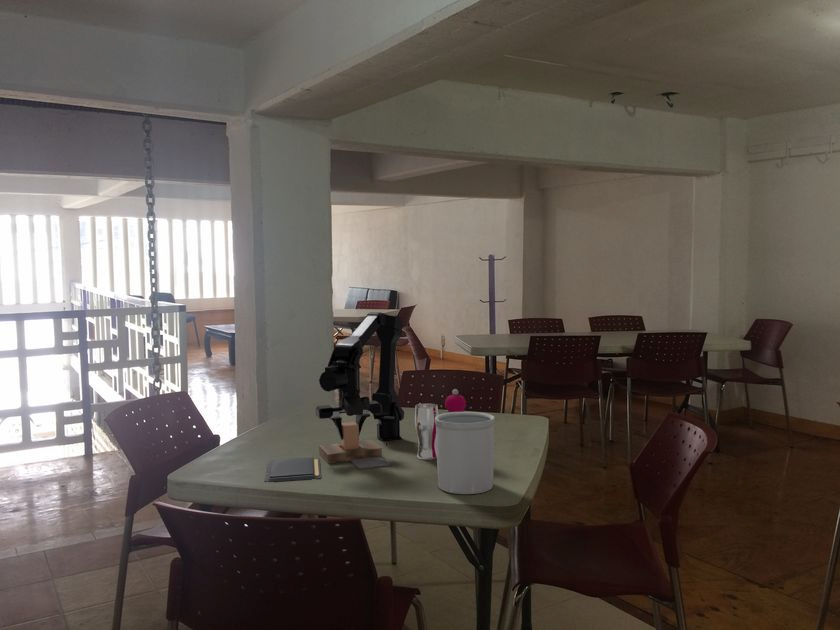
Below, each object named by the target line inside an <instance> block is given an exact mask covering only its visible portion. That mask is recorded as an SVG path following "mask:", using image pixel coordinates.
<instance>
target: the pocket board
mask: <svg viewBox="0 0 840 630" xmlns="http://www.w3.org/2000/svg"><path fill="white" fill-rule="evenodd" d="M382 449H383V448H382V447H381V446H379V444H377V443H376V442H374V441H373V440H372V439H367V440H366V439H365V440H364V439H363V440H359V448H358V449H349V450H342V449H341V442H339V443H332V444H331V443H330V444H321V445H318V450H319V451H318V453H319V454H318V455H319V456H322V457H321V458H322V459H323V461H325V462H326V463H327V464H334V463H335V464H336V462H337V463H344V461H345V462H351V460H354V459H362V458H371V457H379V456H381V457H382V458H383V453H382V452H383V451H382Z"/></svg>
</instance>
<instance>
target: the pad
mask: <svg viewBox="0 0 840 630" xmlns="http://www.w3.org/2000/svg"><path fill="white" fill-rule="evenodd" d="M350 462H351V463H352V464H353V465H354V466H355V467H356V468H357V469H358V470H366V469H367V468H368V469H374V468H375V467H376V468H382V467H383V466H384V467H389V466H391V463H390V462H389V461H387V460H386V459H384V458H383V456H382V457H381V456H379V457H371V458H362V459H354V460H351V461H350ZM384 467H383V468H384ZM368 469H367V470H368Z"/></svg>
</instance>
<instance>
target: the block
mask: <svg viewBox="0 0 840 630" xmlns="http://www.w3.org/2000/svg"><path fill="white" fill-rule="evenodd" d="M341 424H342V431H343V440H341V439H340V443H341V449H342V450H349V449H358V448H359V441H360V435H359V425H358V424H357V423H356V421H351V422H341Z"/></svg>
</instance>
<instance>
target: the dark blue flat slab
mask: <svg viewBox="0 0 840 630" xmlns="http://www.w3.org/2000/svg"><path fill="white" fill-rule="evenodd" d="M268 462H269V463H268ZM268 462H267V466H268V467H267V466H266V467H267V468H266V473H267V474H265V477H266V478H265V477H264V483H266V482H274V483H284V482H285V483H286V482H287V483H288V482H302V481H311V480H312V479H316V480H322V479H321V478H322V469H321V468H322V467H321V459H320V458H314V457H296V458H282V459H281V458H280V459H272V460H270V461H268ZM312 481H313V480H312Z"/></svg>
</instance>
